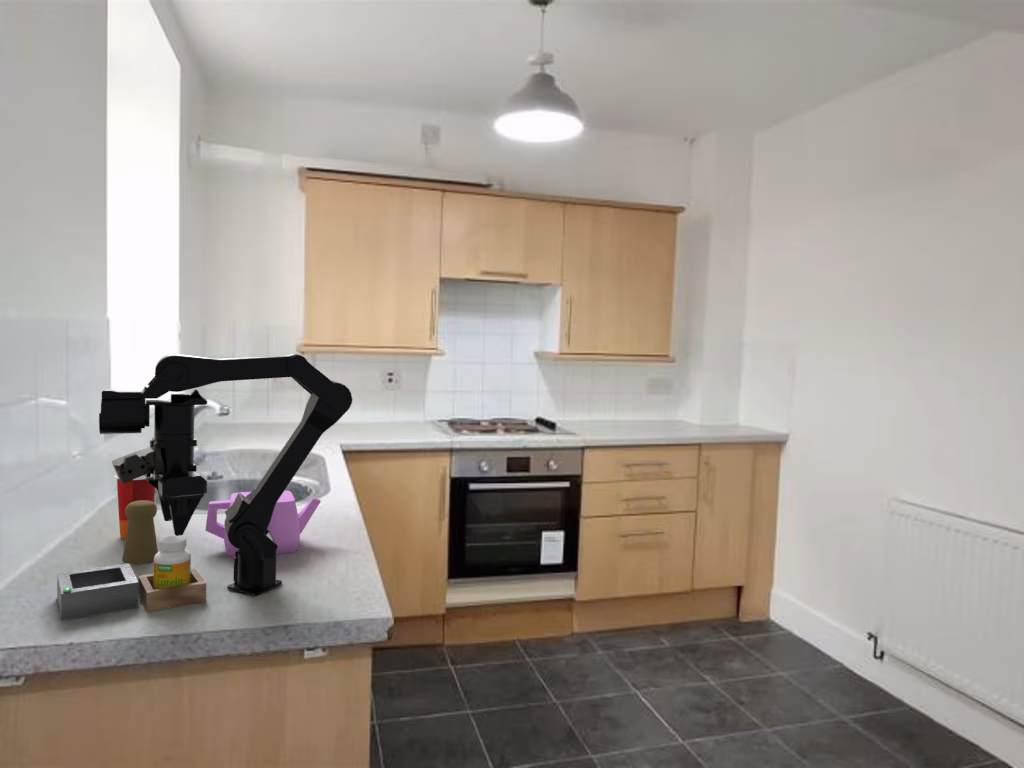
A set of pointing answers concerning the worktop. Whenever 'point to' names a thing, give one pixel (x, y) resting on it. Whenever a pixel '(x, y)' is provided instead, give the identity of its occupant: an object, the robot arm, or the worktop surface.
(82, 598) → the port
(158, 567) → the supplement bottle
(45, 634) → the worktop surface
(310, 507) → the teakettle
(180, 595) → the wooden box
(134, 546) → the cork
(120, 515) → the paper cup
